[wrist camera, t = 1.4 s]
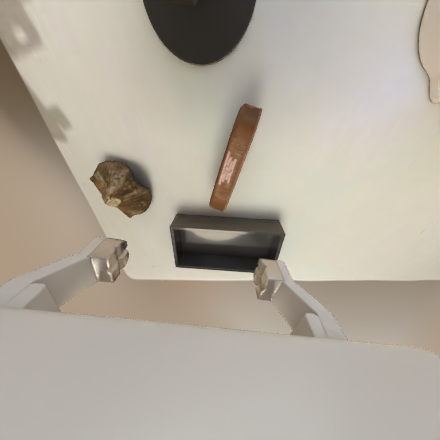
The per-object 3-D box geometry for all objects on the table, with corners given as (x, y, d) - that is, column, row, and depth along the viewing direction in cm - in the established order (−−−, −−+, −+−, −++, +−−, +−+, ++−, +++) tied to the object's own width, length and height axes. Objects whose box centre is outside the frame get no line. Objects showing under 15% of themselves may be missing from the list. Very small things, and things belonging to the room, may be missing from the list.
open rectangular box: (278, 220, 34) (285, 234, 29) (268, 258, 39) (272, 274, 35) (176, 213, 34) (169, 226, 30) (181, 252, 40) (175, 267, 36)
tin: (226, 199, 32) (224, 223, 25) (210, 194, 31) (204, 217, 24) (259, 110, 24) (271, 108, 17) (239, 102, 24) (242, 96, 16)
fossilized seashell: (82, 169, 28) (120, 213, 34) (76, 180, 23) (122, 230, 29) (125, 151, 29) (154, 196, 36) (128, 158, 24) (161, 209, 31)
